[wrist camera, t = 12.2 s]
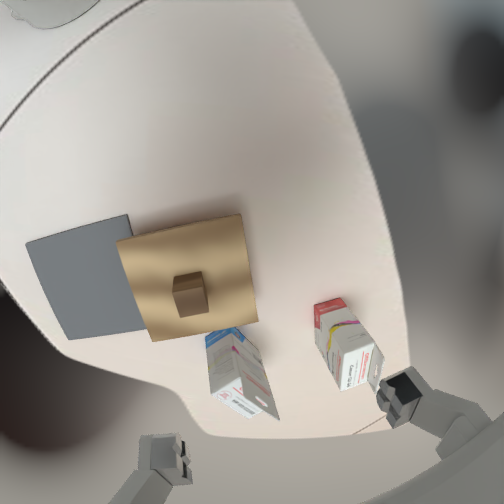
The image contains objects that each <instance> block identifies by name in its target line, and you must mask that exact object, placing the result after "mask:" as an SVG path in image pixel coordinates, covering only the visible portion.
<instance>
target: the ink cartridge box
mask: <svg viewBox="0 0 504 504" xmlns="http://www.w3.org/2000/svg"><path fill="white" fill-rule="evenodd" d="M314 317H315V344H316V345H317V347H318V349H319V351H320V353H321V355H322V357H323V359H324V360H325V362H326V364H327V366H328V368H329V370H330V372H331V374H332V376H333V377H334V379H335V381H336V383H337V385H338V387H339V389H340V391H344V390H347V389H349V388H352V387H354V386H357V385H360V384H362V383H365V382H367V381H368V382H369V384H370V386H371V388H372V390H373V392H374V394H376V393H377V389H378V385H379V382H380V378H381V374H382V370H383V365H384V361H385V359H384V356H383V354H382V353H381V351H380V349H379V348H378V346H377V345H376V342H375V341H374V340H373V338H372V337H371V336H370V334H369V333H368V332H367V331H366V329H365V328H364V327H363V326H362V324H361V323H360V322H359V321H358V319H357V318H356V317H355V316H354V314H353V313H352V312H351V311H350V309H349V308H348V307H347V306H346V304H345V303H344V302H343V301H342V299H341V298H338V299H335V300H332V301H328V302H324V303H321V304H317V305H314ZM376 364H377V366H378V368H377V375H376V377H374V373H375V368H376Z"/></svg>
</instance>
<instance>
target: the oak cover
mask: <svg viewBox="0 0 504 504" xmlns="http://www.w3.org/2000/svg"><path fill="white" fill-rule="evenodd" d="M115 243H116V246H117V249H118V252H119V255H120V258H121V261H122V264H123V267H124V270H125V273H126V276H127V279H128V281H129V284H130V287H131V290H132V292H133V295H134V298H135V300H136V303H137V306H138V308H139V311H140V313H141V316H142V318H143V321H144V323H145V325H146V328H147V330H148V333H149V335H150V337H151V339H152V342H157V341H163V340H169V339H174V338H180V337H186V336H191V335H197V334H202V333H207V332H212V331H217V330H222V329H227V328H232V327H236V326H241V325H246V324H250V323H255V322H259V321H258V315H257V309H256V303H255V297H254V291H253V285H252V279H251V273H250V267H249V261H248V254H247V248H246V242H245V236H244V230H243V224H242V217H241V214H235V215H230V216H225V217H220V218H215V219H210V220H205V221H200V222H195V223H190V224H186V225H181V226H176V227H172V228H167V229H163V230H158V231H154V232H149V233H145V234H140V235H136V236H132V237H128V238H123V239H119V240H117V241H116V242H115Z"/></svg>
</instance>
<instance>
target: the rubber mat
mask: <svg viewBox="0 0 504 504" xmlns="http://www.w3.org/2000/svg"><path fill="white" fill-rule="evenodd" d="M132 236H133V234H132V230H131V227H130V223H129V220H128V216H127V215H123V216H119V217H115V218H111V219H107V220H103V221H100V222H96V223H92V224H89V225H85V226H81V227H78V228H74V229H71V230H67V231H64V232H61V233H57V234H54V235H51V236H47V237H44V238H41V239H38V240H35V241H32V242H28V243H26V244H25V245H26V248H27V251H28V254H29V256H30V259H31V262H32V264H33V267H34V269H35V272H36V274H37V276H38V279H39V281H40V284H41V286H42V288H43V290H44V293H45V295H46V297H47V299H48V301H49V303H50V305H51V308H52V310H53V312H54V314H55V316H56V318H57V320H58V322H59V323H60V325H61V327H62V329H63V331H64V333H65V335H66V336H67V338H68V340H75V339H83V338H91V337H98V336H105V335H112V334H119V333H125V332H132V331H138V330H144V329H147V328H146V325H145V323H144V321H143V318H142V316H141V313H140V311H139V308H138V306H137V303H136V300H135V298H134V295H133V292H132V290H131V287H130V284H129V281H128V279H127V276H126V273H125V270H124V267H123V264H122V261H121V258H120V255H119V252H118V249H117V246H116V243H115V242H116V241H117V240H119V239H123V238H128V237H132Z"/></svg>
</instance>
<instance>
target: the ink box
mask: <svg viewBox="0 0 504 504" xmlns="http://www.w3.org/2000/svg"><path fill="white" fill-rule="evenodd" d="M205 341H206V352H207V362H208V373H209V382H210V392H211V395H212V396H214V397H215V398H217V399H218V400H220V401H221V402H223V403H224V404H225V405H227V406H229V407H230V408H232V409H233V410H235V411H236V412H238V413H239V414H241V415H242V416H244V417H246V418H247V419H249V418H251V417H253V416H255V415H257V414H259V413H261V412H263V411H264V412H266V413H267V414H269V415H270V416H272V417H273V418H275V419H276V420H278V421H280V418H279V415H278V412H277V409H276V406H275V401H274V398H273V395H272V392H271V389H270V385H269V382H268V379H267V376H266V373H265V370H264V366H263V363H262V360H261V356H260V353H259V351H258V350H257V349H256V348H255V347H254V346H253V345H252V344H251V343H250V342H249V341H248V340H247V339H246V338H245V337H244V336H243V335H242V334H241V333H240V332H239V331H238V330H237V329H236V328H235V327H232V328H227V329H222V330H217V331H214V332H213V333H211V334H210V335H208V336H207V337H205Z"/></svg>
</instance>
